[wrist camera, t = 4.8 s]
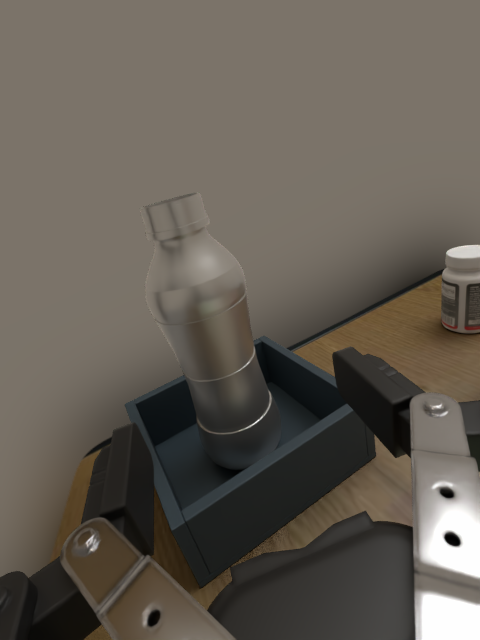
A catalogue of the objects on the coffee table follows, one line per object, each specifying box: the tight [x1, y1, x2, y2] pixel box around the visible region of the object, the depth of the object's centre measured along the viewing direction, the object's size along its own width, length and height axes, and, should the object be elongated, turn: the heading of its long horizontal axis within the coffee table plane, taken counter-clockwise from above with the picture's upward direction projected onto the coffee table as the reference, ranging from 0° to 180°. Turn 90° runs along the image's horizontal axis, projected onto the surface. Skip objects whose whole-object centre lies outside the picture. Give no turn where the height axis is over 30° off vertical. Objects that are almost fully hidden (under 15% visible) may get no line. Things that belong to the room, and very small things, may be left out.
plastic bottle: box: [140, 192, 281, 470], centre depth 23 cm, size 6×7×20 cm
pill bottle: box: [441, 245, 480, 333], centre depth 35 cm, size 5×5×8 cm
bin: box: [125, 336, 376, 588], centre depth 27 cm, size 15×14×6 cm
